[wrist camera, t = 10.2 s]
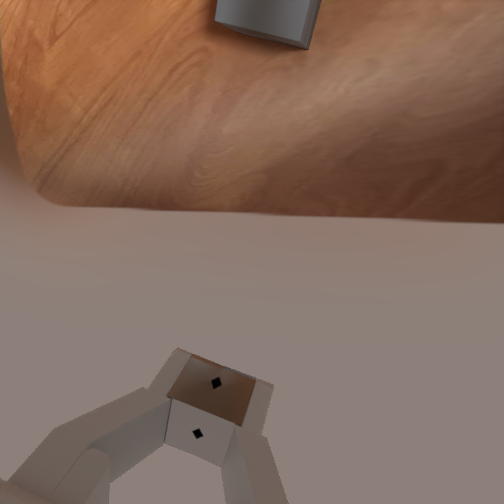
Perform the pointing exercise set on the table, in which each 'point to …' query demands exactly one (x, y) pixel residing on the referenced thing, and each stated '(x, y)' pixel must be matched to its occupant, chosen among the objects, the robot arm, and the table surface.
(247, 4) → the charcoal block
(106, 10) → the table surface
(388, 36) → the table surface
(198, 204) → the table surface
